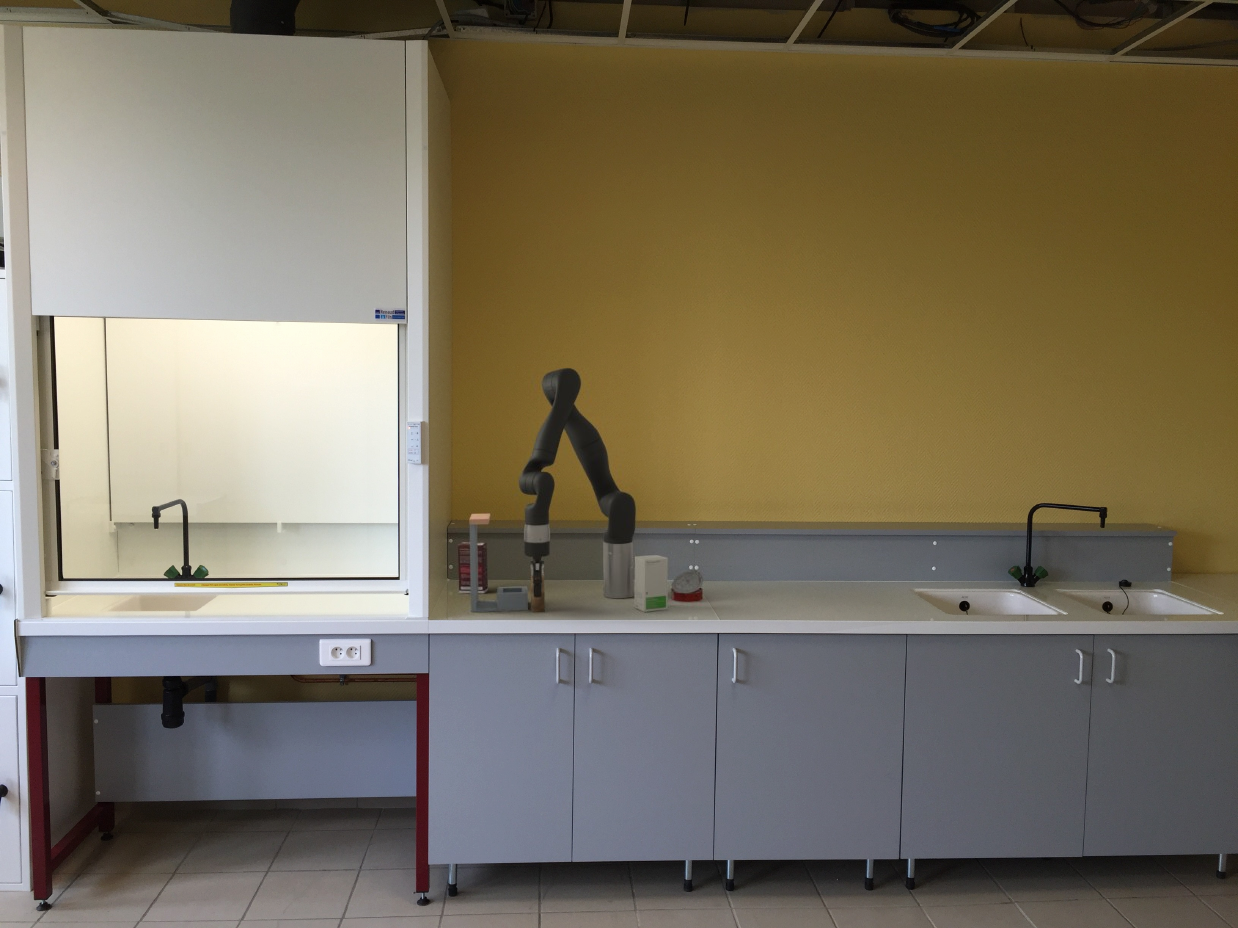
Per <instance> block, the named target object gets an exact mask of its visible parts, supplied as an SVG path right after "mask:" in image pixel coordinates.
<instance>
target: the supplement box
mask: <svg viewBox="0 0 1238 928" xmlns="http://www.w3.org/2000/svg"><path fill="white" fill-rule="evenodd" d="M487 545H488V543H487V542H477V551H478V594H485V593H487V592H488V590H489V587H488V586H489V584H488V578H489V577H488V547H487ZM457 563H458V566H457V567H458V594H471V577H470V542H466V541H465V542H464V541H463V542H460V543H459V544H457Z"/></svg>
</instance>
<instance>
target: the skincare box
mask: <svg viewBox="0 0 1238 928" xmlns="http://www.w3.org/2000/svg"><path fill="white" fill-rule="evenodd" d="M668 562H669V558H668V557H666V556H662V555H659V554H656V555H655V554H654V555H641V556H639V555H637V556H634V608H635V609H636V610H639V611H641V612H642V613H643V612H644V613H648V612H655V611H657V612H658V611H663V610H664V611H666V610H668V587H669V586H668V583H669V582H668V579H669V578H668V576H669V575H668V572H669V569H668V568H669V566H668V564H669V563H668Z"/></svg>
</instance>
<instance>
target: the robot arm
mask: <svg viewBox="0 0 1238 928" xmlns="http://www.w3.org/2000/svg"><path fill="white" fill-rule="evenodd" d="M581 385H582V380H581V377H580V375H579V372H578V371H576V370H575V369H573V368H571V367H565V368H564V367H563V368H560V369H555V370H552V371H549V372H547V373H546V374H544V376H543V378H542V381H541V387H542V391H543V394H544V397H546V400H547V401H548V403H549V405H550V406H551V409H550V411H549V413H548V415H547V416H546V417H545V418H546V419H545V420H544V422H543V423H542V425H541V427H540V429H539V430H538V432H537V434H536V437H535V440H534V441H535V442H534V445H533V449H532V452H531V455H530V457H529V458H528V460H527V462H526V464H524V465H525V466H524V468H523V469H522V471H521V473H520V476H519V479H518V487H519V490H520V492H521V493H523V494H524V495H529V496H536V498H535V501H534V502H532V503H529V504H528V503H527V504H526V505H525V508H524V529H523V542H524V543H523V545H524V546H523V550H524V551H523V552H524V553H523V554H524V555H525V557H529V558H531V557H532V560H530V574H531V573H532V578H533V585H534V597H541V584H542V577H543V570H544V568H545V560H542V557H545V558H546V557H548V556H550V554H551V530H550V508H551V503H552V499H553V495H554V491H555V483H556V482H555V478H554V476H553V475H552V474H551V473H550V472H548V471H543V469H544V468H548V467H550V466H553V465H554V463H555V461H556V457H557V454H558V450H559V446H560V442H561V438H562V436H563V435H562V434H563V432H565V433H566V435H567V437H568V440H569V442H570V445H571V446H572V448H573V452H574V453H575V455H576V457H577V459H578V461H579V463H580V465H581V467H582V469H583V471H584V473H585V475H586V478H588V480H589V483H590V485H591V487H592V490H593V492H594V495H595V498H596V502H597V505H598V508H599V509H600V511H601V513H602V514H603V515H604V516H605V517H606V518H608V519H607V520H608V521H607V522H608V525H607V529H606V531H605V532H603V539H602V540H603V544H602V545H603V547H602V549H603V550H602V551H603V554H602V555H603V565H602V566H603V568H602V569H603V589H602V590H603V596H604V597H606V598H611V599H626V598H632V597H634V598H635V566H633V563H634V562H633V559H634V558H633V551H634V549H633V545H634V544H633V540H634V539H633V538H634V535H635V531H636V517H637V516H636V515H637V507H636V501H635V499H634V497H633V496H632V495H631V494H630V493H628V492H625V491H623V490H622V491H621V490H620V489H619V487H618V485H617V484H616V482H615V480H614V478H613V476H612V473H611V471H610V470H611V469H610V464H609V463H610V462H609V455H608V451H607V450H608V449H607V448H606V445H605V442H604V441H603V439H602V436H601V434H600V433H599V431H598V429H597V428H596V427H595V426H594V425H593V424H592V423H591V422H590V420H588V419H587V418H586V417H585V416H584V415H583V414H582V413H581V412H580V410H578V408H577V406H576V404H575V403H576V400H577V398H578V395H579V394H580V390H581ZM535 578H540V580H535Z"/></svg>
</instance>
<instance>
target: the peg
mask: <svg viewBox="0 0 1238 928" xmlns="http://www.w3.org/2000/svg"><path fill="white" fill-rule="evenodd" d="M535 580H540V578H535ZM545 590H546V587H545V570H544V569H543V577H542V584H541V597H534V585H533V578H532V573H531V572H530V612H531V613H534V614H535V613H536V614H539V613H540V614H541V613H544V612H545V608H546V605H545V600H546V599H545V595H546V593H545Z"/></svg>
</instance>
